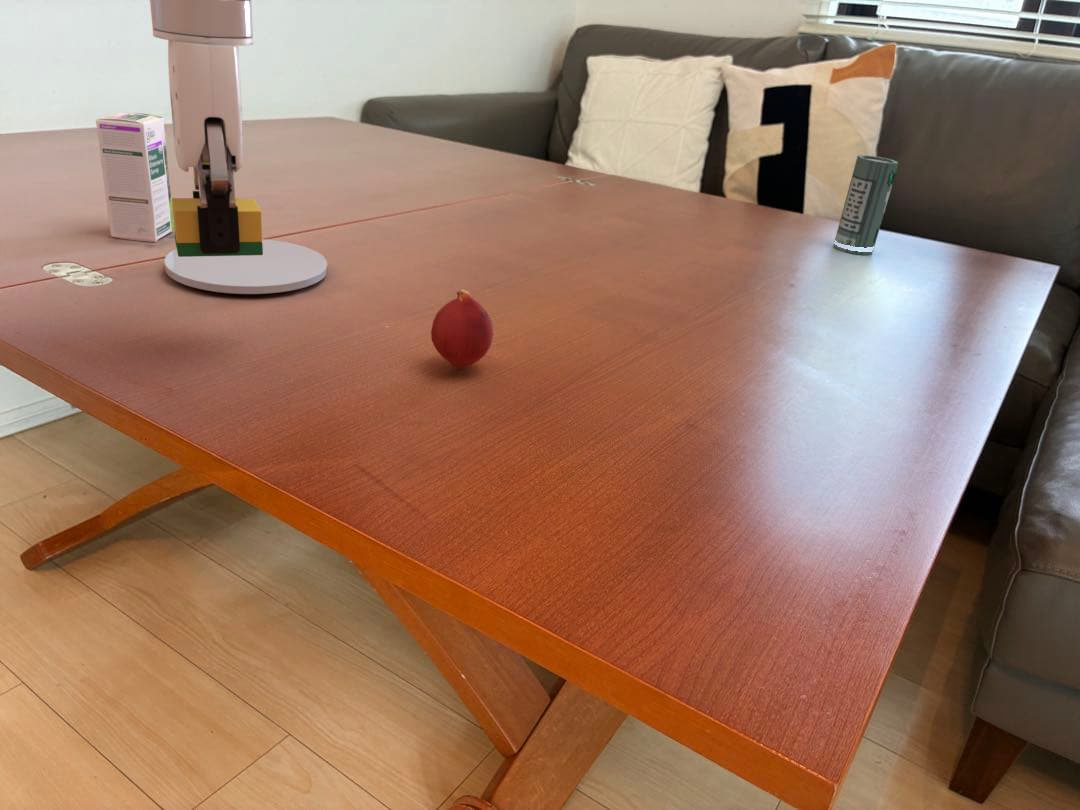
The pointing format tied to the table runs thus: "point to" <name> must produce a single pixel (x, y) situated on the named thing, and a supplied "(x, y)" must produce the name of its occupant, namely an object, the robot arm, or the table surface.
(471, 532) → the table surface
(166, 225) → the syrup box
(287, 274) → the plate
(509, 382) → the table surface
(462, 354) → the onion
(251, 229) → the sponge
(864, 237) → the can
